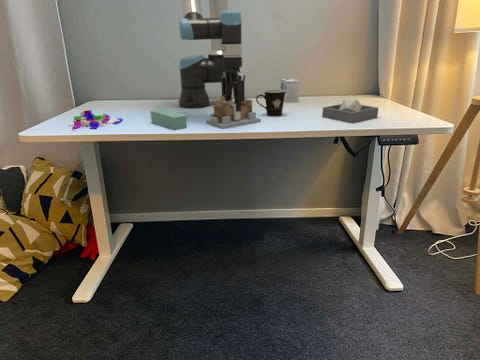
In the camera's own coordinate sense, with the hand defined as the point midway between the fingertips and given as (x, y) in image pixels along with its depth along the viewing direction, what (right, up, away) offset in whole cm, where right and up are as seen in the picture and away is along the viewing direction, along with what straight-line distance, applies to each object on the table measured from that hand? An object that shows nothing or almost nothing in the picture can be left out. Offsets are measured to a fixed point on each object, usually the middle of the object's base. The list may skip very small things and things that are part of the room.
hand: (233, 118), depth 144 cm
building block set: (-57, -1, +6) cm, 57 cm away
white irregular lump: (+48, +1, +6) cm, 48 cm away
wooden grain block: (0, 0, 0) cm, 0 cm away
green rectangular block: (-25, -3, -1) cm, 26 cm away
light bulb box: (+28, +16, +44) cm, 55 cm away
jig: (0, -2, +1) cm, 2 cm away
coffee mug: (+16, +4, +13) cm, 21 cm away
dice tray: (+48, +1, +6) cm, 48 cm away
